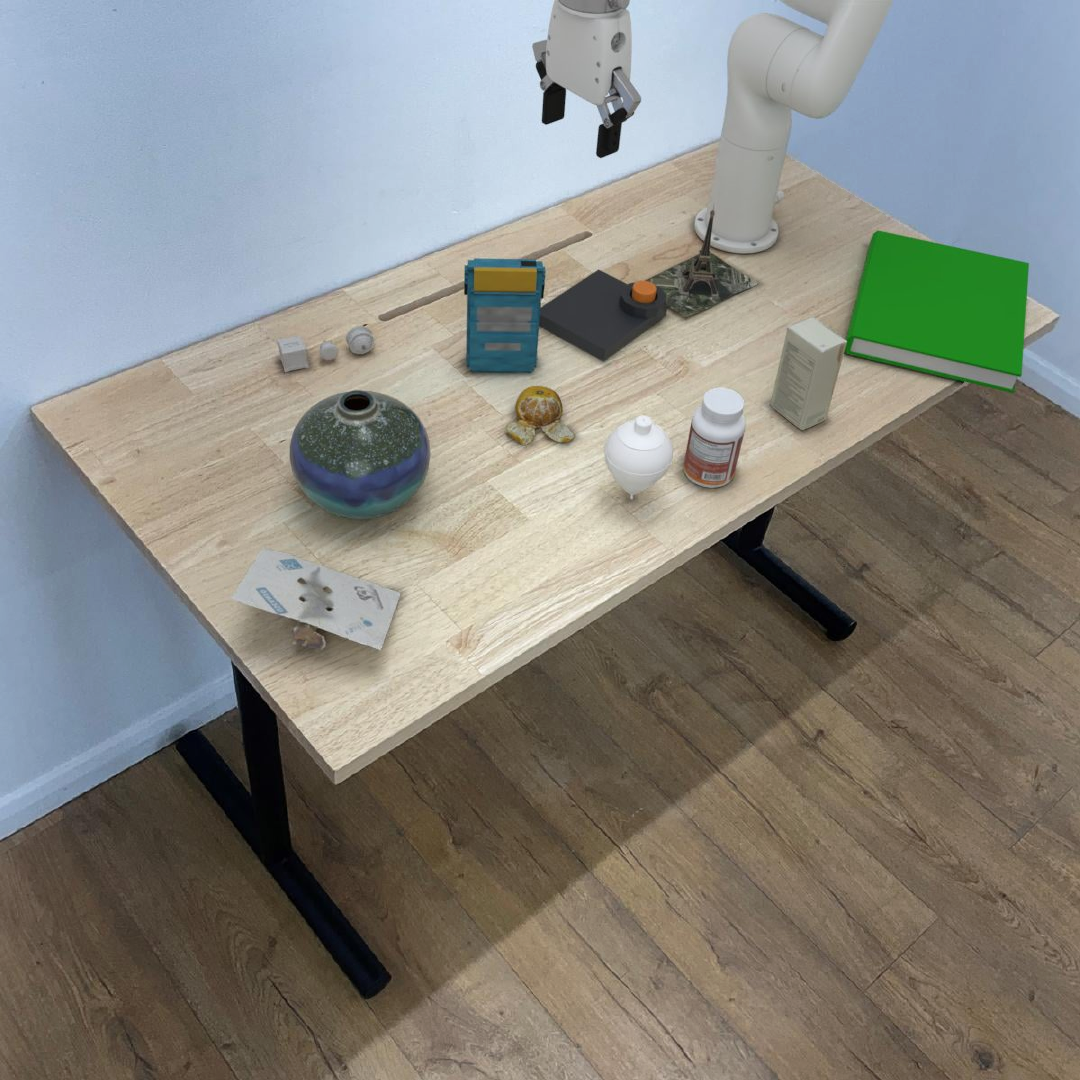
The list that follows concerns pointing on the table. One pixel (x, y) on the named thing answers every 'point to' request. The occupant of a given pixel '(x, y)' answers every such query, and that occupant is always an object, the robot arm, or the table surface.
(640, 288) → the button
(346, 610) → the card
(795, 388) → the cosmetic box
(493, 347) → the teal case
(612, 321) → the dark grey button base
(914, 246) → the book
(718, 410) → the pill bottle
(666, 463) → the spinning top
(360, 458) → the vase
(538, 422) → the fruit
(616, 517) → the table surface
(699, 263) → the eiffel tower figurine
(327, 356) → the toy set
